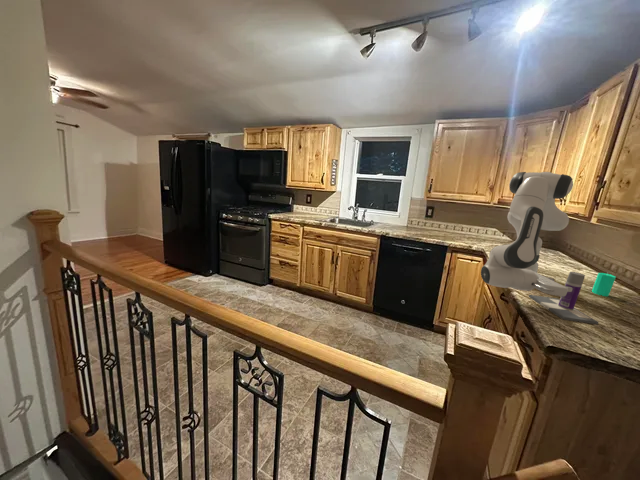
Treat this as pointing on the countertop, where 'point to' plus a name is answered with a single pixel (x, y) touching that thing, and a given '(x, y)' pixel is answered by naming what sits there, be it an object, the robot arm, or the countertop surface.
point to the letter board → (562, 310)
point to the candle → (603, 284)
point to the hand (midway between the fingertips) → (561, 284)
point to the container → (571, 297)
